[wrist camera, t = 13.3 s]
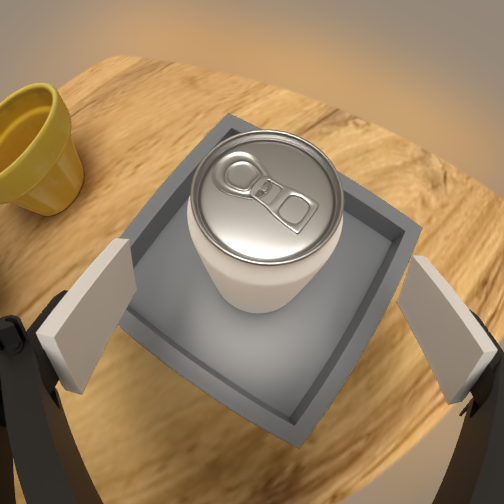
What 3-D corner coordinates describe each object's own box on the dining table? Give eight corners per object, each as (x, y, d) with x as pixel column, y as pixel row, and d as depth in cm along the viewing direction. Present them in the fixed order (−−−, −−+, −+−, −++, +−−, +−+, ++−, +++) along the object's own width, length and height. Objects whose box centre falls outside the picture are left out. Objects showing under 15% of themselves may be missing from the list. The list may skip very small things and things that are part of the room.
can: (249, 212, 24) (250, 99, 12) (319, 261, 23) (382, 179, 11) (195, 278, 22) (142, 206, 11) (267, 333, 21) (291, 318, 9)
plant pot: (87, 126, 27) (50, 63, 18) (115, 193, 25) (65, 126, 16) (15, 179, 26) (-34, 132, 16) (31, 254, 23) (-38, 214, 14)
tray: (101, 299, 22) (81, 291, 19) (230, 136, 27) (228, 113, 24) (292, 435, 19) (299, 448, 16) (404, 241, 24) (422, 227, 21)
